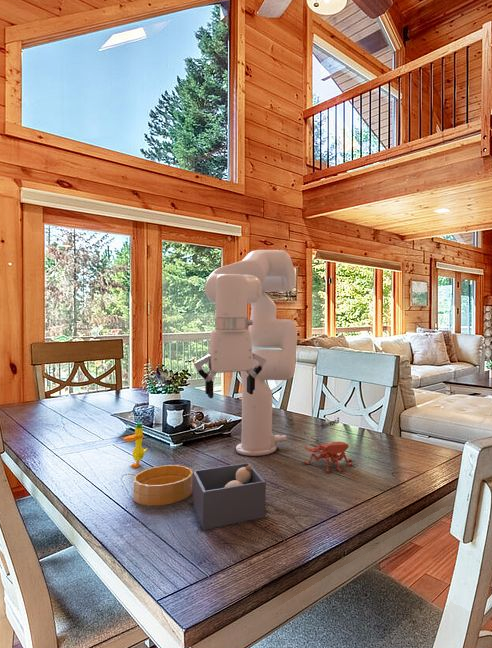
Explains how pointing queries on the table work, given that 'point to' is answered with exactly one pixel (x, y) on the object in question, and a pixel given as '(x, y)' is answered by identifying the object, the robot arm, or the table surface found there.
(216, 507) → the bin
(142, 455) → the toy figure
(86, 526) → the table surface
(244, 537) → the table surface
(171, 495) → the bowl
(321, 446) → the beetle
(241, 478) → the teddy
